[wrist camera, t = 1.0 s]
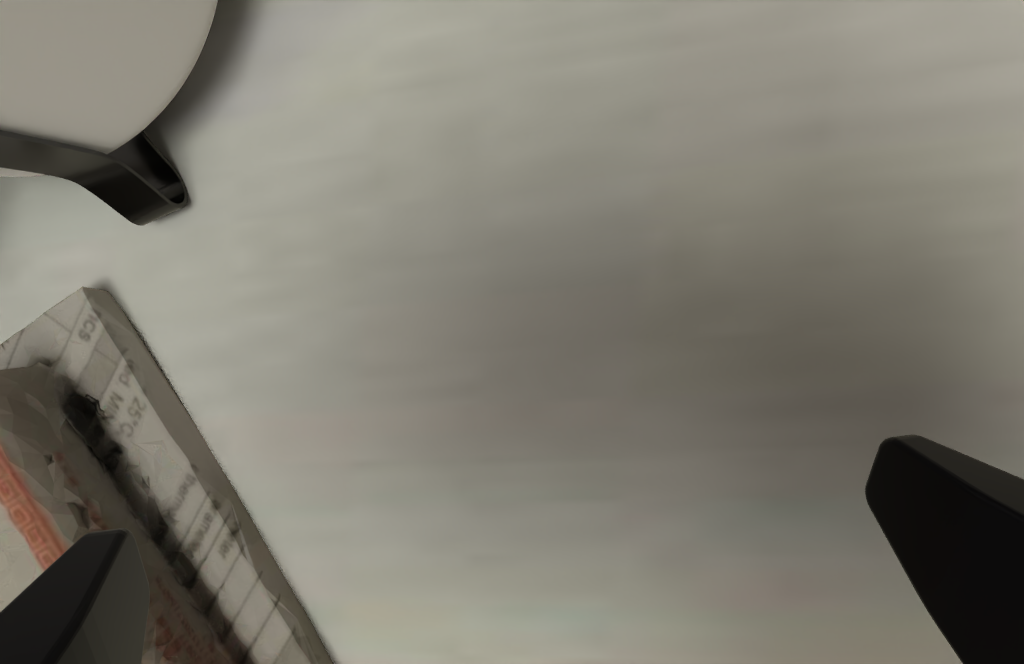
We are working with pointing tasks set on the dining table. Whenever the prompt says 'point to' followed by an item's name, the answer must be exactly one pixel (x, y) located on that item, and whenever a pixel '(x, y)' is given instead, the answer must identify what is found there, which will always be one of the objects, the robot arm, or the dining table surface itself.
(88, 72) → the coffee press
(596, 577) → the dining table surface
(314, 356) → the dining table surface
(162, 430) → the packaged product
